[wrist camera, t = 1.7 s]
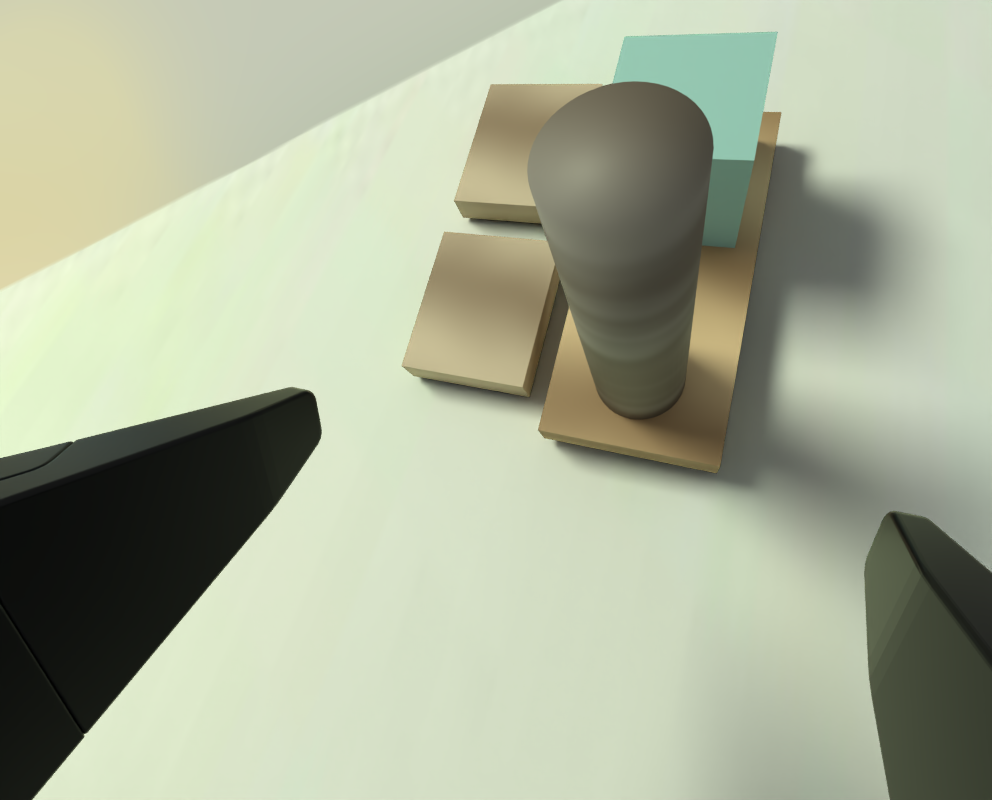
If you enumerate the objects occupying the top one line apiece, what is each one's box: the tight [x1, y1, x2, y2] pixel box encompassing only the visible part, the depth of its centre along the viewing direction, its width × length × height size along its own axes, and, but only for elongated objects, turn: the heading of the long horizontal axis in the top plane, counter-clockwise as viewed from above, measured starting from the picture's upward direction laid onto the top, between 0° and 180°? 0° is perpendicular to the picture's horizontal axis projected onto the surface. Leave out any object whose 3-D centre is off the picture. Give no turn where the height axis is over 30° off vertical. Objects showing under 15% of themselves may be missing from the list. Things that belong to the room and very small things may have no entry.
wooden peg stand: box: [527, 81, 781, 473], centre depth 16 cm, size 14×6×12 cm, turn 165°
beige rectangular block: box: [402, 84, 602, 397], centre depth 24 cm, size 14×5×1 cm, turn 165°
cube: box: [613, 32, 778, 248], centre depth 19 cm, size 4×4×4 cm
